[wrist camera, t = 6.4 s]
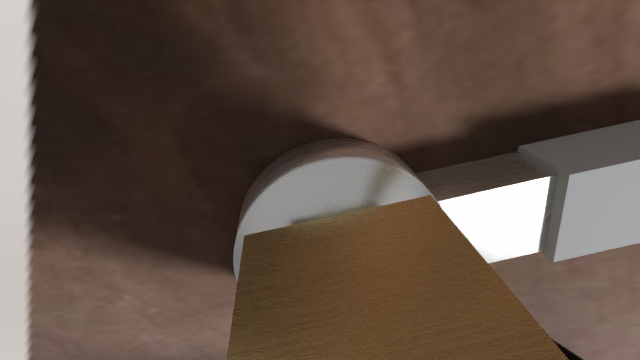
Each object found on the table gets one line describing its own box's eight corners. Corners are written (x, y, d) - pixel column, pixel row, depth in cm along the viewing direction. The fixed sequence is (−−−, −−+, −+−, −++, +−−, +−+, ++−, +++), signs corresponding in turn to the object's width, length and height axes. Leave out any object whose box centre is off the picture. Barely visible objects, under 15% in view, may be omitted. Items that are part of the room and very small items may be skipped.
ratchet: (266, 310, 14) (261, 467, 9) (212, 162, 11) (162, 284, 6) (640, 226, 15) (822, 335, 10) (694, 59, 11) (1009, 96, 6)
